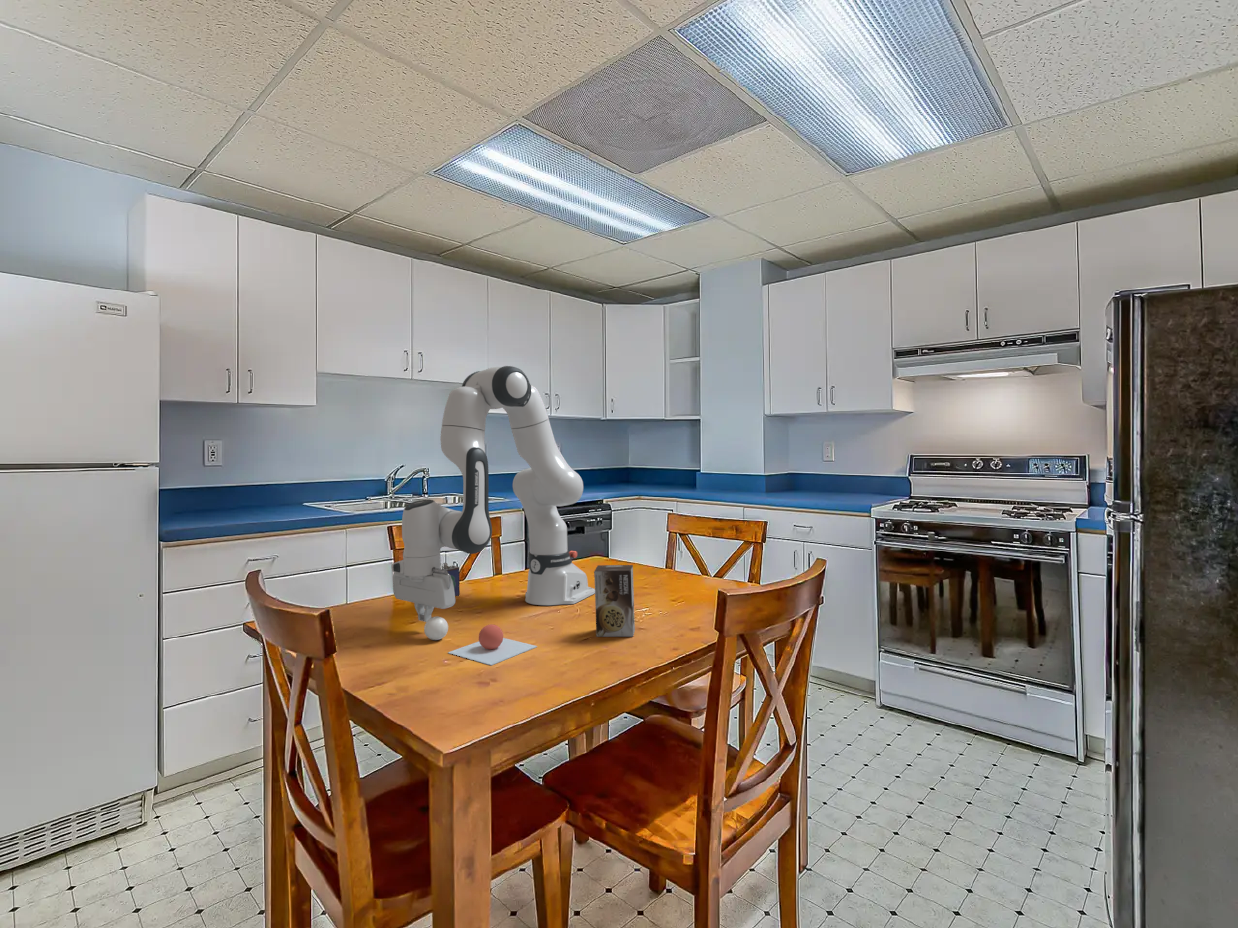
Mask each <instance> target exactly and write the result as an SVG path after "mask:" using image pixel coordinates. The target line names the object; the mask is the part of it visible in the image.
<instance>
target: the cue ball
mask: <svg viewBox="0 0 1238 928" xmlns="http://www.w3.org/2000/svg"><path fill="white" fill-rule="evenodd" d="M423 628H424V629H423V630H424V631H423V632H424V634H425V636H426V637H427V638H428V639H429V640H431V641H440V640H442V639H443V638H444V637H446V635H447V633H448V631H449V623H448V622H447V620H446V619H445V618H444V617H442V616H431V618H430V619H429V620H428V621H427V622H425V624H424V627H423Z"/></svg>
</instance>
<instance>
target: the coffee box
mask: <svg viewBox="0 0 1238 928" xmlns="http://www.w3.org/2000/svg"><path fill="white" fill-rule="evenodd" d="M593 573H594V575H593V576H594V579H593V580H594V589H595V593H594V600H595V601H594V602H595V637H597V638H599V637H603V638H604V637H605V638H606V637H621V638H622V637H624V638H625V637H634V635H635V630H636V626H635V625H636V624H635V595H634V594H635V593H634V591H635V590H634V588H635V587H634V565H633V564H611V565H610V564H609V565H608V564H607V565H605V564H603V565H600V564H599V565H596V567H595V569H594V571H593Z"/></svg>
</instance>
